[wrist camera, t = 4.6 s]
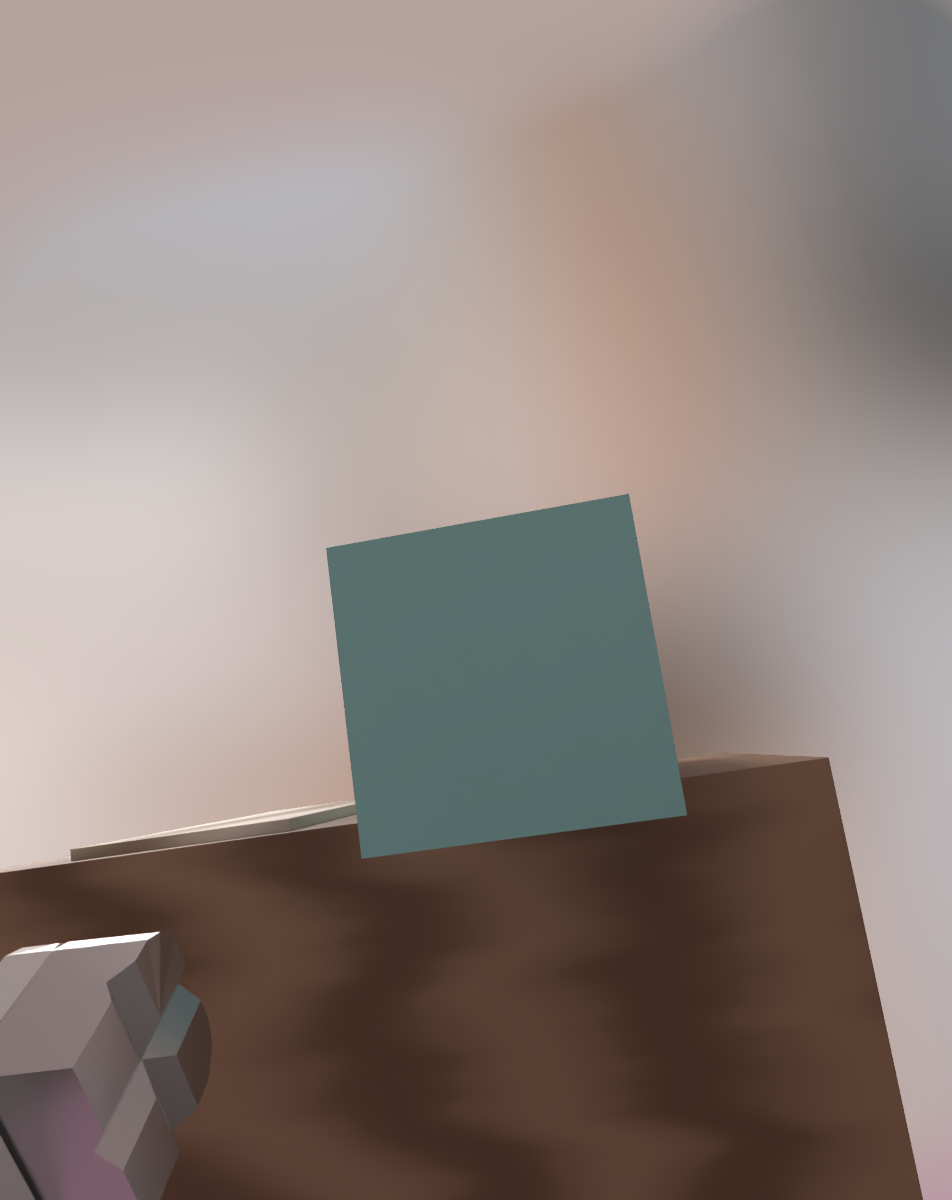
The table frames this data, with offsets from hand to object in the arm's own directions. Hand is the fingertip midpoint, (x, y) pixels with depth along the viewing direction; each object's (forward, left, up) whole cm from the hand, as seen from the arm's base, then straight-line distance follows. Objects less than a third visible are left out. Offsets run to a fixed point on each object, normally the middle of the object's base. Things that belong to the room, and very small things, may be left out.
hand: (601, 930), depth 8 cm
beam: (-1, +15, +1) cm, 15 cm away
